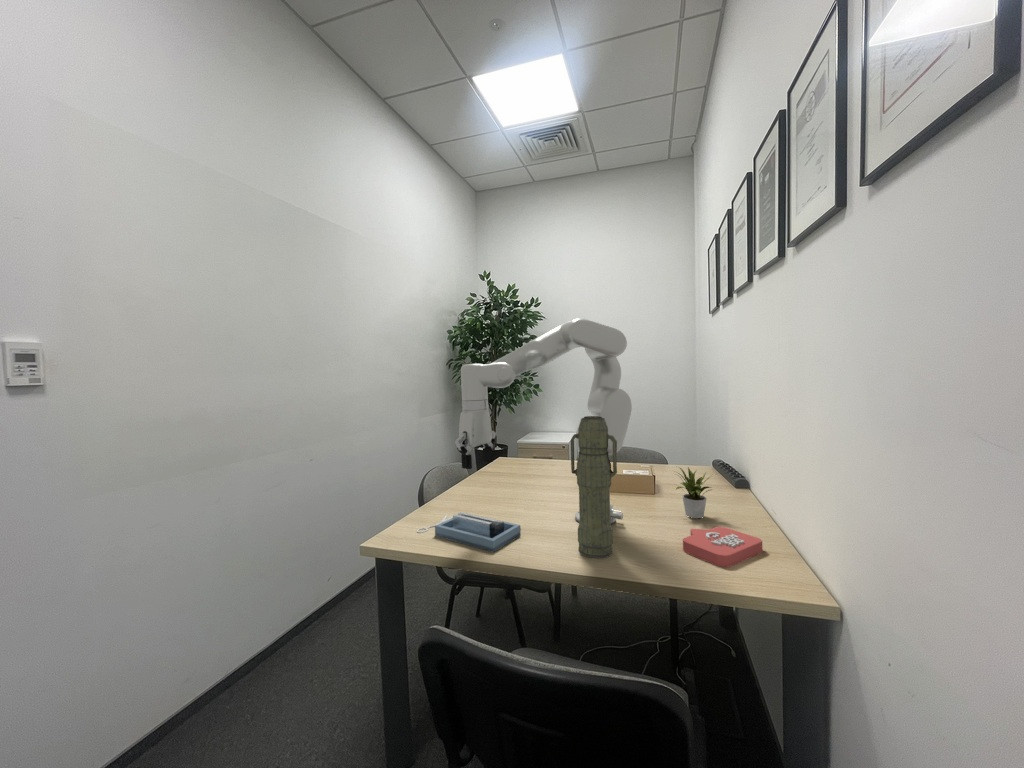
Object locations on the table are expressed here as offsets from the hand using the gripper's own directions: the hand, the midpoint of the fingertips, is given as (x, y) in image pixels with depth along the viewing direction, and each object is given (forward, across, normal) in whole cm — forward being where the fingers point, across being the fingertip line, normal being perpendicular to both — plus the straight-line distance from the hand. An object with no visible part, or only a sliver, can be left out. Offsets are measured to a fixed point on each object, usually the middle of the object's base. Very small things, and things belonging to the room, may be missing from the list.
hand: (477, 464), depth 114 cm
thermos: (+21, -7, +32) cm, 39 cm away
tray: (+21, +1, -1) cm, 21 cm away
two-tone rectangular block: (+20, +1, -1) cm, 20 cm away
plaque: (+23, -25, +59) cm, 68 cm away
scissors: (+21, -1, -17) cm, 27 cm away
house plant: (+22, -48, +48) cm, 72 cm away
